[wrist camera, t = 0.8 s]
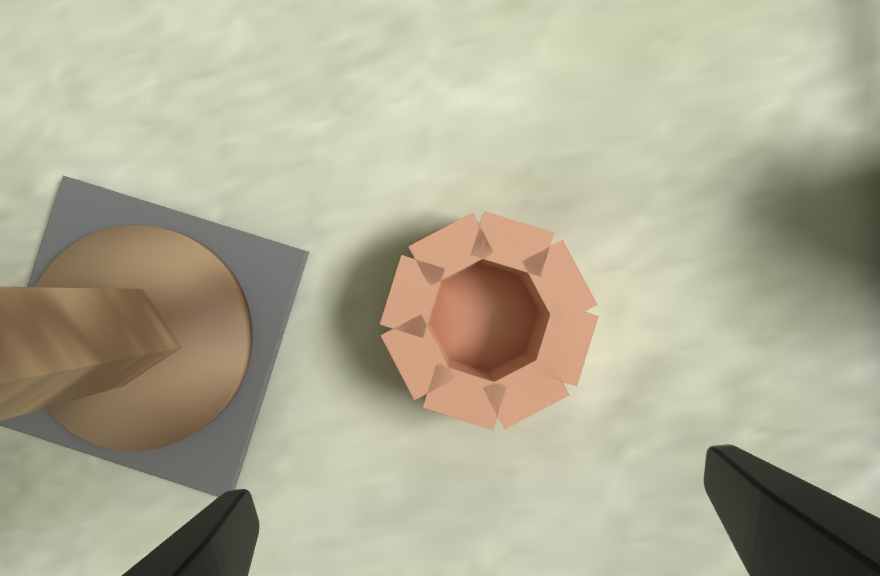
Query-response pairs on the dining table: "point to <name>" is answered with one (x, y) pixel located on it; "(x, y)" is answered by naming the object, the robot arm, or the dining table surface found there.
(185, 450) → the rubber mat
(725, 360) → the dining table surface
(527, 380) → the terracotta bowl
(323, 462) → the dining table surface
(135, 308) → the walnut lid
